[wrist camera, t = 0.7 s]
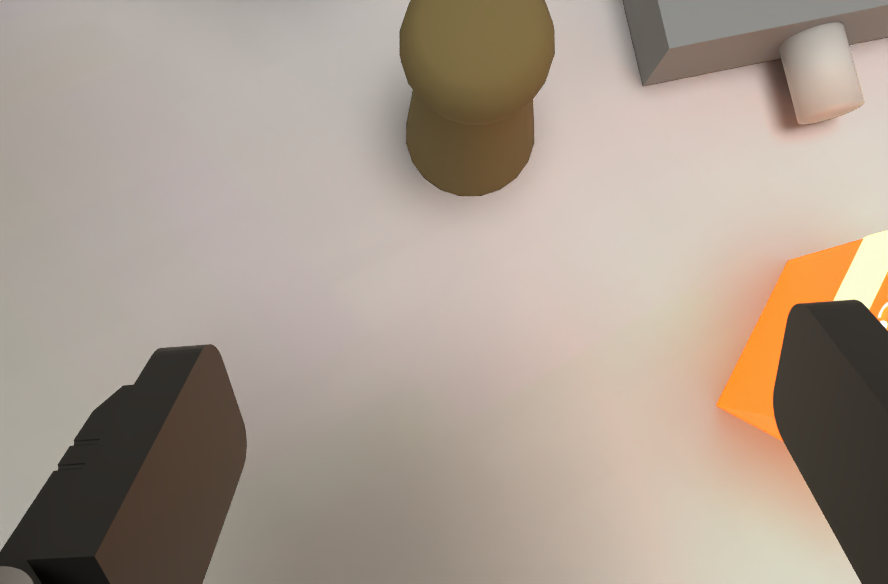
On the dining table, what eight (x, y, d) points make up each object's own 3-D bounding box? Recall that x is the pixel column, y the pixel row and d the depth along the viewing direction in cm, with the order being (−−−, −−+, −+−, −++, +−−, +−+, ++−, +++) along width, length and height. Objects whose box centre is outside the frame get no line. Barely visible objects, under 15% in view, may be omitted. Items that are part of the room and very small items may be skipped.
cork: (497, 49, 33) (519, -104, 22) (557, 160, 32) (610, 60, 22) (383, 106, 33) (348, -20, 22) (442, 218, 32) (435, 148, 21)
